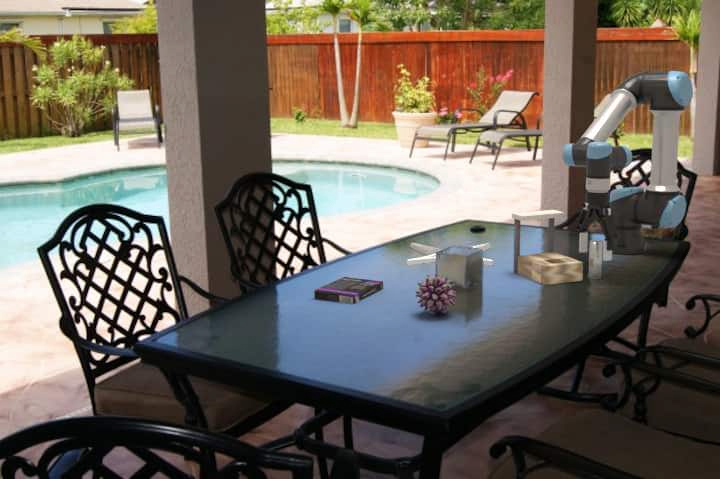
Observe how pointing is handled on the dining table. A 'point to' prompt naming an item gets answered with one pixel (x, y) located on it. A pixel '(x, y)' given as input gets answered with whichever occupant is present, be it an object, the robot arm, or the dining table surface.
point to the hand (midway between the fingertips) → (595, 256)
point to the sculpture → (432, 251)
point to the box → (348, 290)
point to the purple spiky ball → (435, 293)
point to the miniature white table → (534, 216)
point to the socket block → (550, 268)
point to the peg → (595, 259)
